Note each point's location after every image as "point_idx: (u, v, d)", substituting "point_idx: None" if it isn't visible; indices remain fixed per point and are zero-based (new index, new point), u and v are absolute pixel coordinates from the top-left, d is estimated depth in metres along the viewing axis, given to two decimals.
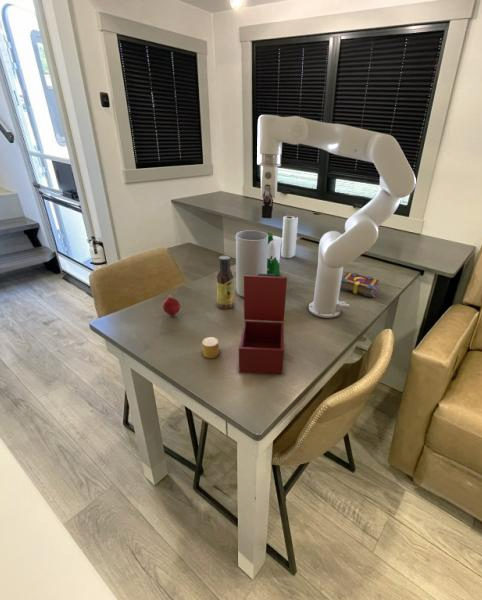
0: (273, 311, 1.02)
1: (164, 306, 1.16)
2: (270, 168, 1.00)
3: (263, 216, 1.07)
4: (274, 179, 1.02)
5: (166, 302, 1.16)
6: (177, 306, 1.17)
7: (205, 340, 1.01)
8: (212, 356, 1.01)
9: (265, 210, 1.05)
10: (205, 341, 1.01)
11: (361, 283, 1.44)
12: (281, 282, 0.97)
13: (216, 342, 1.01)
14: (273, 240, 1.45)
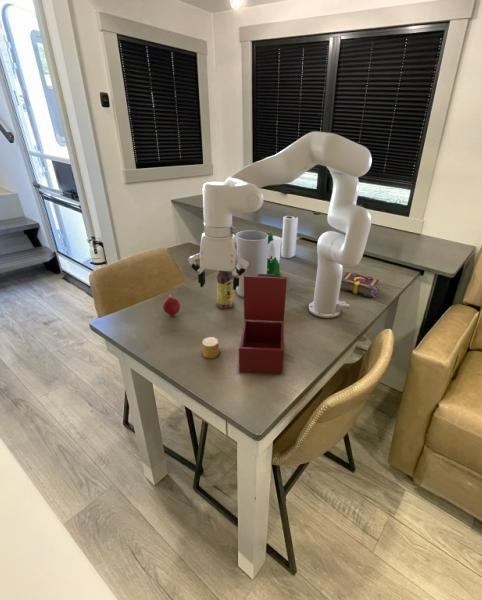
0: (273, 311, 1.02)
1: (164, 306, 1.16)
2: (235, 237, 0.91)
3: (235, 288, 0.97)
4: None
5: (166, 302, 1.16)
6: (177, 306, 1.17)
7: (205, 340, 1.01)
8: (212, 356, 1.01)
9: (238, 280, 0.96)
10: (205, 341, 1.01)
11: (361, 283, 1.44)
12: (281, 282, 0.97)
13: (216, 342, 1.01)
14: (273, 240, 1.45)
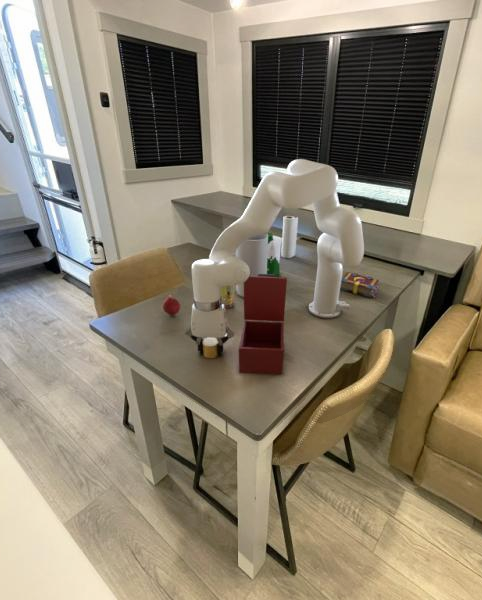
0: (273, 311, 1.02)
1: (164, 306, 1.16)
2: (224, 307, 0.96)
3: (220, 354, 1.02)
4: None
5: (166, 302, 1.16)
6: (177, 306, 1.17)
7: (205, 340, 1.01)
8: (212, 356, 1.01)
9: (222, 347, 1.01)
10: (205, 341, 1.01)
11: (361, 283, 1.44)
12: (281, 282, 0.97)
13: (216, 342, 1.01)
14: (273, 240, 1.45)
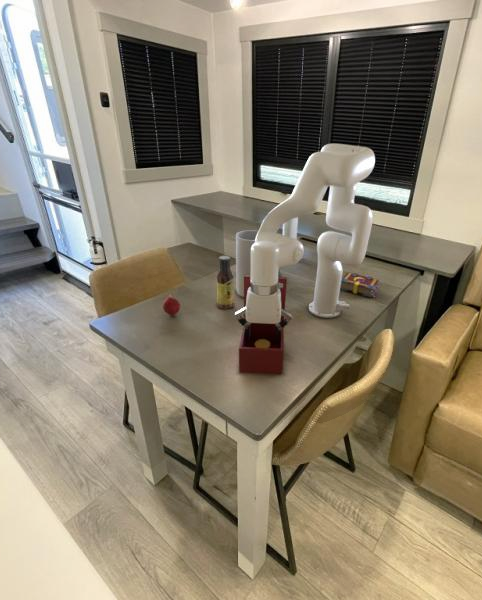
0: None
1: (164, 306, 1.16)
2: None
3: (277, 339, 0.98)
4: None
5: (166, 302, 1.16)
6: (177, 306, 1.17)
7: (257, 342, 1.01)
8: None
9: (280, 332, 0.98)
10: (257, 343, 1.00)
11: (361, 283, 1.44)
12: (281, 282, 0.97)
13: (268, 344, 1.00)
14: None
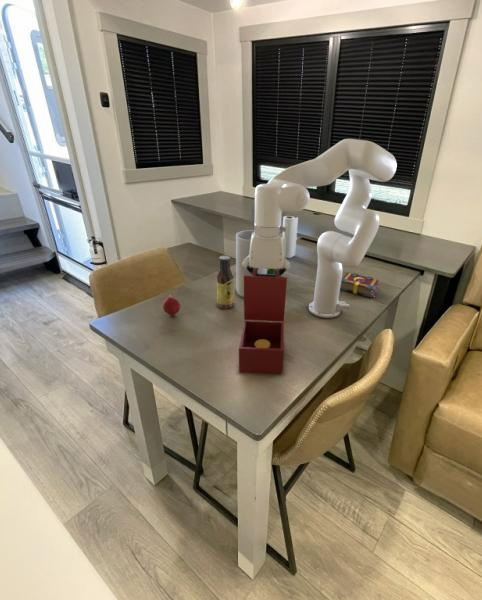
0: (273, 311, 1.02)
1: (164, 306, 1.16)
2: None
3: None
4: None
5: (166, 302, 1.16)
6: (177, 306, 1.17)
7: (257, 342, 1.01)
8: None
9: None
10: (257, 343, 1.00)
11: (361, 283, 1.44)
12: (281, 282, 0.97)
13: (268, 344, 1.00)
14: None
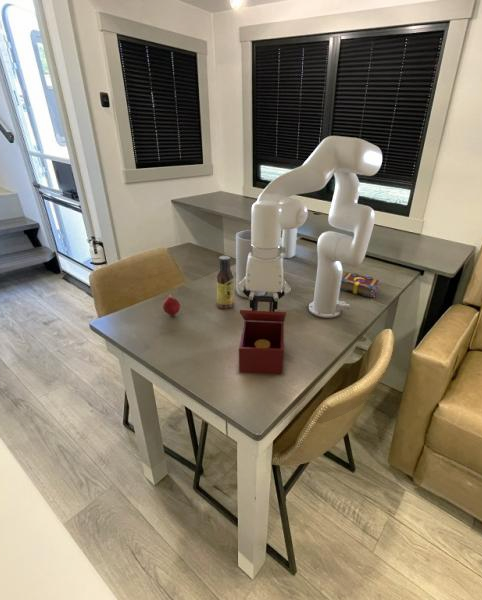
0: (273, 320, 1.01)
1: (164, 306, 1.16)
2: (282, 257, 0.87)
3: (274, 311, 0.93)
4: None
5: (166, 302, 1.16)
6: (177, 306, 1.17)
7: (257, 342, 1.01)
8: None
9: (277, 304, 0.93)
10: (257, 343, 1.00)
11: (361, 283, 1.44)
12: (280, 315, 0.91)
13: (268, 344, 1.00)
14: None
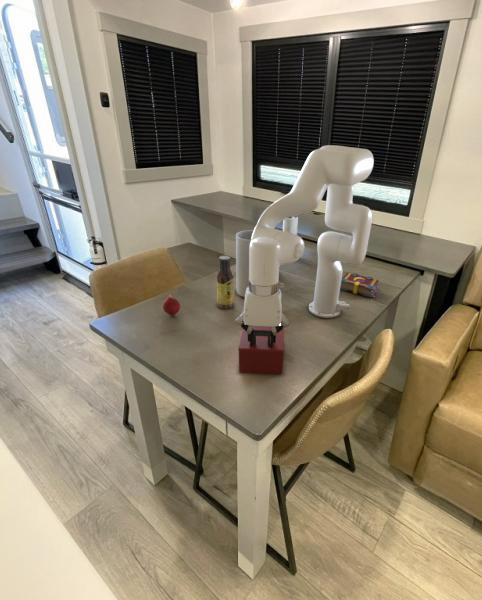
0: None
1: (164, 306, 1.16)
2: (280, 292, 0.86)
3: (272, 344, 0.92)
4: None
5: (166, 302, 1.16)
6: (177, 306, 1.17)
7: None
8: None
9: (275, 337, 0.92)
10: None
11: (361, 283, 1.44)
12: None
13: None
14: None
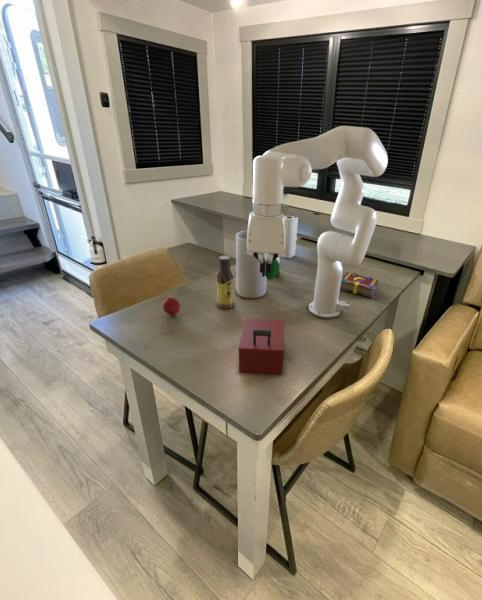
0: None
1: (164, 306, 1.16)
2: (284, 216, 0.85)
3: (267, 274, 0.91)
4: None
5: (166, 302, 1.16)
6: (177, 306, 1.17)
7: None
8: None
9: (270, 267, 0.91)
10: None
11: (361, 283, 1.44)
12: None
13: None
14: None
